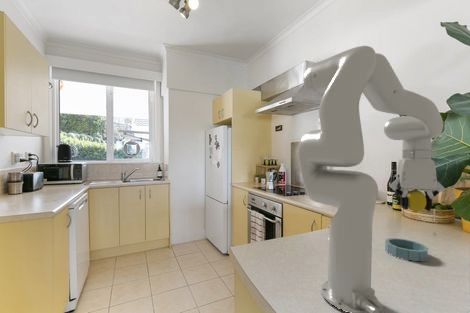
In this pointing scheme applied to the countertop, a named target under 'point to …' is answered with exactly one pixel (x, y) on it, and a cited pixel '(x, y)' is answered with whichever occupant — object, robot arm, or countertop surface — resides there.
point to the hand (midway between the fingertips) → (415, 208)
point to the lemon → (416, 200)
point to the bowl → (406, 249)
